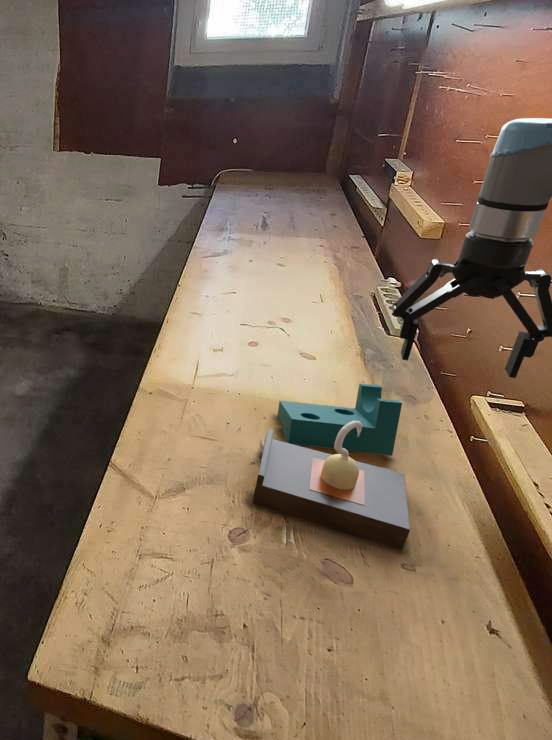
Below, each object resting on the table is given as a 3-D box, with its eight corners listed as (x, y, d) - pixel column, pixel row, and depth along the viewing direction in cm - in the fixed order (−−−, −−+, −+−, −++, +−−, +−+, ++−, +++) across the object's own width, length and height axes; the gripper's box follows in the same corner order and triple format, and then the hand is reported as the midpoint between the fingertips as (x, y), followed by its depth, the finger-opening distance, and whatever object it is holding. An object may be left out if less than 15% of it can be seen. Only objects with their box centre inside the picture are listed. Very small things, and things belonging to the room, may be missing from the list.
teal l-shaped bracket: (370, 433, 115) (379, 385, 113) (392, 455, 105) (402, 403, 103) (276, 423, 119) (282, 376, 117) (288, 443, 109) (295, 392, 107)
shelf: (396, 493, 98) (407, 464, 95) (402, 550, 87) (414, 520, 84) (262, 456, 108) (268, 428, 105) (251, 503, 97) (258, 474, 94)
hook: (334, 464, 98) (350, 408, 93) (362, 483, 94) (381, 425, 89) (310, 476, 96) (326, 419, 91) (339, 495, 92) (356, 436, 86)
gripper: (608, 235, 77) (550, 369, 86) (394, 220, 88) (362, 340, 97) (631, 252, 71) (567, 393, 80) (398, 233, 82) (365, 360, 91)
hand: (455, 364), depth 88 cm, fingers open, 13 cm apart
